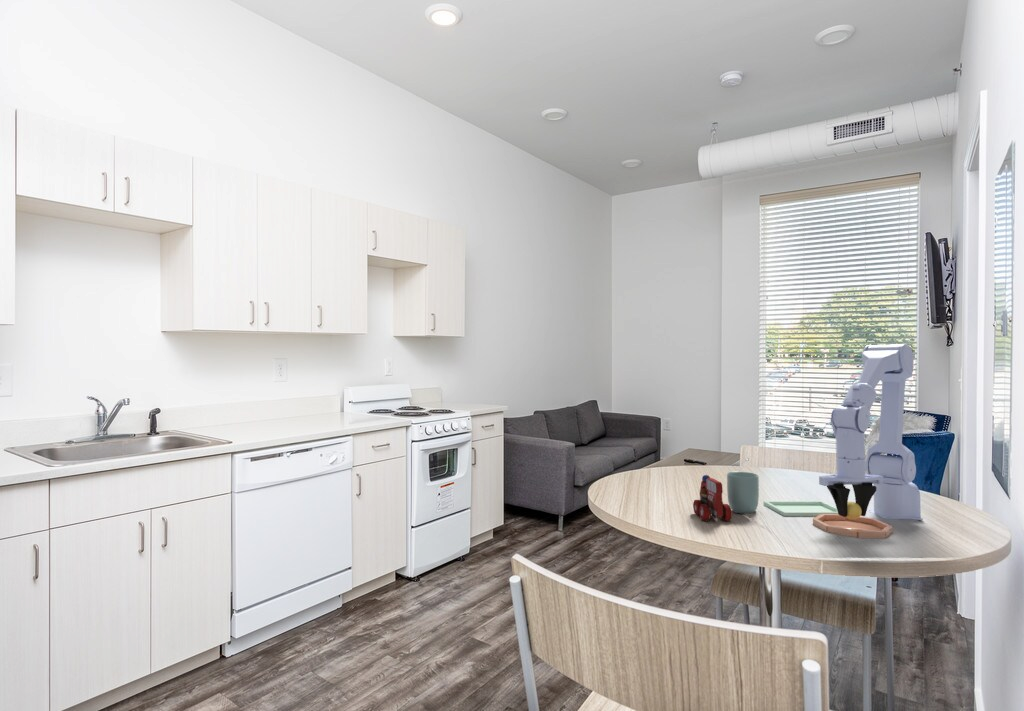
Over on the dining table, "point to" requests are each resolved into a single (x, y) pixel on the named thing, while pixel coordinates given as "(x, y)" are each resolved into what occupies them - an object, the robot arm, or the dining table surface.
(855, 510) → the ball
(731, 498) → the cup
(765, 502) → the tray
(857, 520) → the dish
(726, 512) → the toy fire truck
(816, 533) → the dining table surface
